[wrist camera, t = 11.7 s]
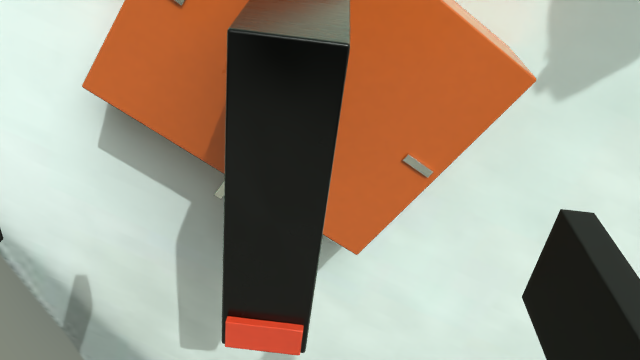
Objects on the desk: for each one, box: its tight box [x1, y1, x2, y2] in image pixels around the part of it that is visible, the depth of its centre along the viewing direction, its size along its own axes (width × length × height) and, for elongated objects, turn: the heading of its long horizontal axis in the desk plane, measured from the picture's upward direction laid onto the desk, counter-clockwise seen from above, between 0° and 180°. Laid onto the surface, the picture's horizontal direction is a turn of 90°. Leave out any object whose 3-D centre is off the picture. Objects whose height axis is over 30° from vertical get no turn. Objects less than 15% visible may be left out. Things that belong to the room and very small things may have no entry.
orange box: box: [82, 0, 536, 255], centre depth 21 cm, size 14×13×4 cm
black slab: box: [222, 0, 350, 355], centre depth 16 cm, size 9×2×9 cm, turn 173°
